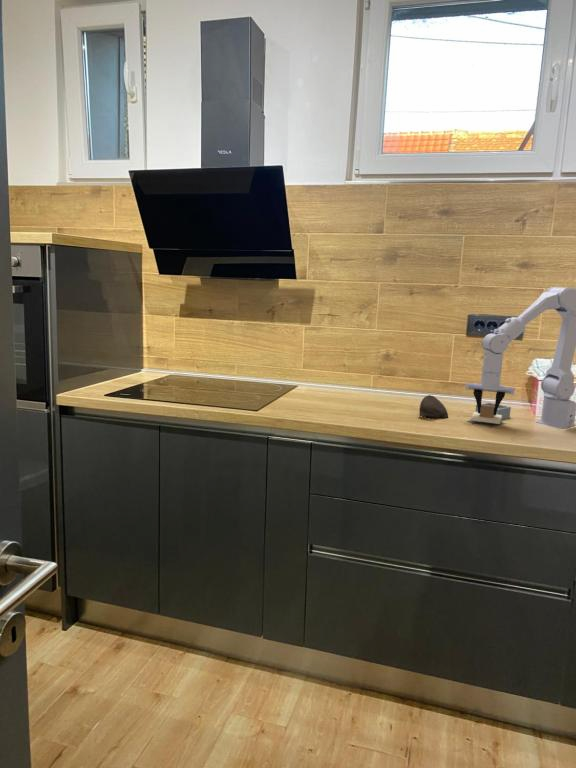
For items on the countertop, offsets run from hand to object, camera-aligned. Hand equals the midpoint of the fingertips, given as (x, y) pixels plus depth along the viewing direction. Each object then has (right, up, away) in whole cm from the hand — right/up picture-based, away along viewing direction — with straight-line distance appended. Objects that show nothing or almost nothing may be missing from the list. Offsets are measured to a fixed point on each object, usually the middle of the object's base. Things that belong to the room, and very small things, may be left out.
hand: (487, 413), depth 182 cm
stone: (-16, -2, +7) cm, 17 cm away
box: (+5, -2, +9) cm, 11 cm away
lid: (0, -2, +1) cm, 2 cm away
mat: (0, -3, +1) cm, 3 cm away
